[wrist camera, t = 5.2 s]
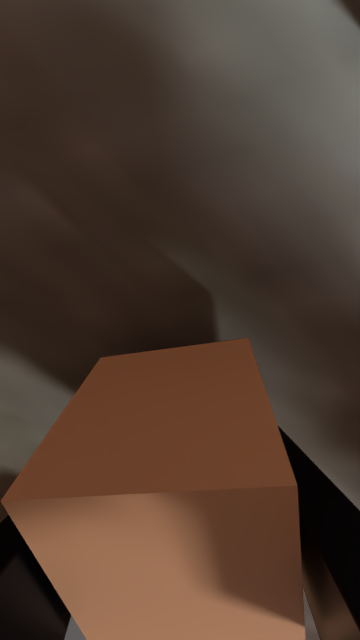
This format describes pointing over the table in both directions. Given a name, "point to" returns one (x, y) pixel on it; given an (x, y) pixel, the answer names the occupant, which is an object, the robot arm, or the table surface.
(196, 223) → the table surface
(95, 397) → the terracotta cube
